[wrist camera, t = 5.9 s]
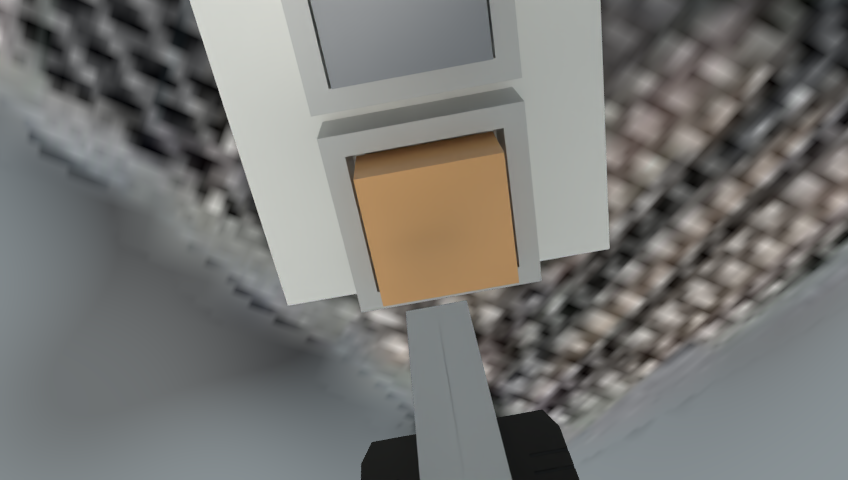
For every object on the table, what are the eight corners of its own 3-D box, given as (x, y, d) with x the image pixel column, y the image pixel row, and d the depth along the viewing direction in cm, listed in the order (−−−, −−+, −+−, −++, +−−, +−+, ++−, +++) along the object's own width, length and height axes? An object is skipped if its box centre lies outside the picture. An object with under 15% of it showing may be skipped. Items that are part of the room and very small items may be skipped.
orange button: (492, 131, 22) (504, 152, 20) (507, 251, 24) (519, 282, 22) (356, 156, 22) (353, 179, 20) (383, 273, 24) (383, 306, 22)
